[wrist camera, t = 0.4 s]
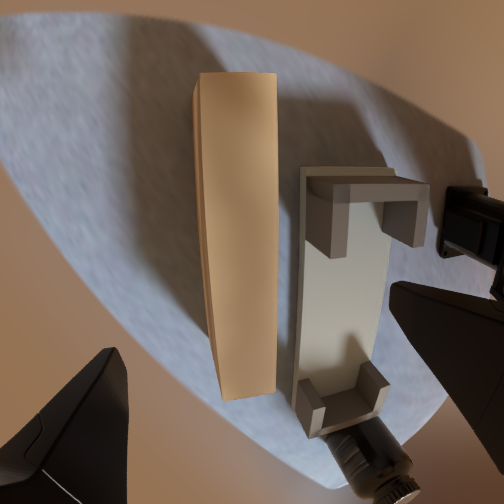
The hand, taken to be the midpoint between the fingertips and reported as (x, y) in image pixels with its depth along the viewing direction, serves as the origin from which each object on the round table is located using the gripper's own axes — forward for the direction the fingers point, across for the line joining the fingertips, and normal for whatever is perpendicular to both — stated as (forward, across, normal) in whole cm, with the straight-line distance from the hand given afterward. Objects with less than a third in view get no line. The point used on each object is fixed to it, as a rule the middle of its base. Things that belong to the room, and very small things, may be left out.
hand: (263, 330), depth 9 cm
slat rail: (+11, -8, +8) cm, 16 cm away
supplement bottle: (+12, -10, +26) cm, 30 cm away
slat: (+11, 0, 0) cm, 11 cm away
